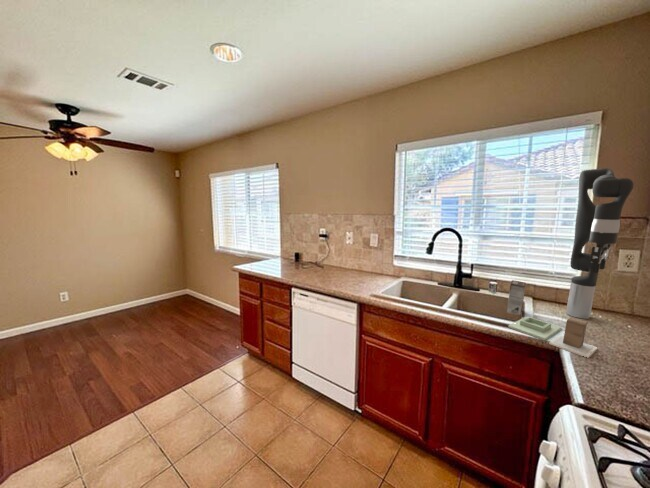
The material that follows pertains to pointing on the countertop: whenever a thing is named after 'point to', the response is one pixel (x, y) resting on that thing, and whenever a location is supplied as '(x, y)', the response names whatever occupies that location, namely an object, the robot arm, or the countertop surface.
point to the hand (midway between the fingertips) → (597, 270)
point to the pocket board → (535, 327)
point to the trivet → (583, 351)
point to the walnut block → (575, 332)
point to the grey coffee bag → (516, 297)
